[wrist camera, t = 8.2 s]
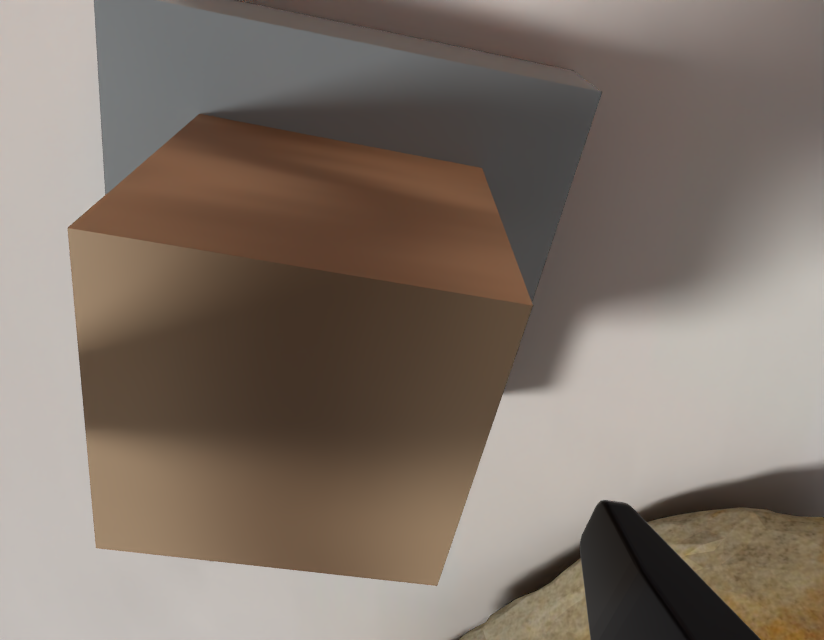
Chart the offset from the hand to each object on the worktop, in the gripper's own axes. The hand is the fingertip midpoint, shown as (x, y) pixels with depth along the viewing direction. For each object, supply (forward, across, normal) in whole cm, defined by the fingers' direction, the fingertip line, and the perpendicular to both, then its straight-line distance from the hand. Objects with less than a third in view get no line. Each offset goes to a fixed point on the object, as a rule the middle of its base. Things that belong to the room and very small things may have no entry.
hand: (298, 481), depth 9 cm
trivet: (+9, 0, 0) cm, 9 cm away
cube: (+7, 0, 0) cm, 7 cm away
